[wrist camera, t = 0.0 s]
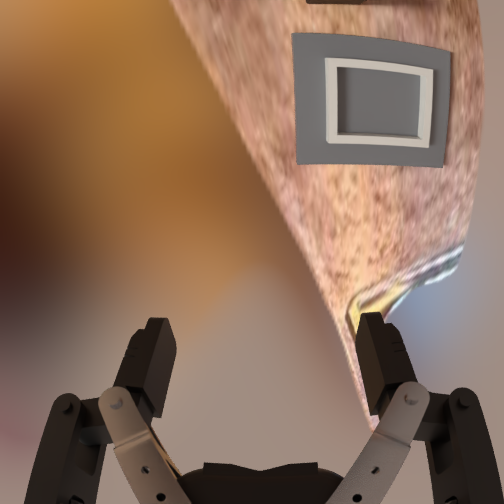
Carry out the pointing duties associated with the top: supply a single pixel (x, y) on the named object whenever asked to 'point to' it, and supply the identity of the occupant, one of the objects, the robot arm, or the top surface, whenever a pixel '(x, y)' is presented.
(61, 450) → the robot arm
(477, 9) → the top surface
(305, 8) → the top surface
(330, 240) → the top surface
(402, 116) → the holder
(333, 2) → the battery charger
